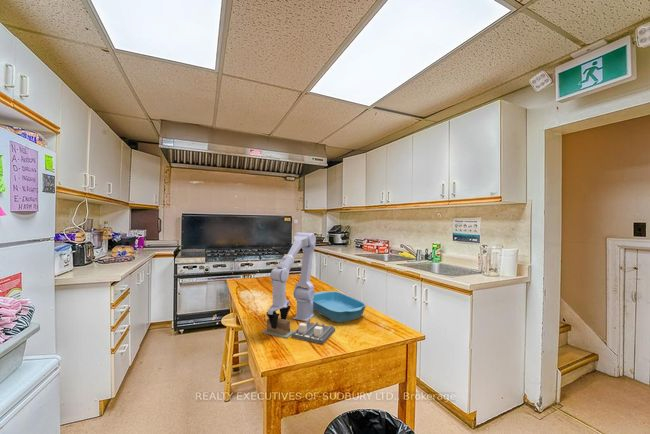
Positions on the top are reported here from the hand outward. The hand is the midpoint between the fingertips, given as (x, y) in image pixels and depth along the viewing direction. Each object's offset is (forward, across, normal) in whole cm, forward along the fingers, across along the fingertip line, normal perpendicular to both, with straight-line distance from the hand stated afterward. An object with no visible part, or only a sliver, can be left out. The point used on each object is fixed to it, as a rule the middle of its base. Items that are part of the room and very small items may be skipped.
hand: (278, 324), depth 119 cm
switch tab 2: (+2, +2, -19) cm, 19 cm away
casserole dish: (+4, +35, -14) cm, 38 cm away
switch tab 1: (+2, +2, -11) cm, 12 cm away
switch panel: (+3, +6, -15) cm, 16 cm away
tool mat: (+3, 0, 0) cm, 3 cm away
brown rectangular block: (+3, 0, 0) cm, 3 cm away
